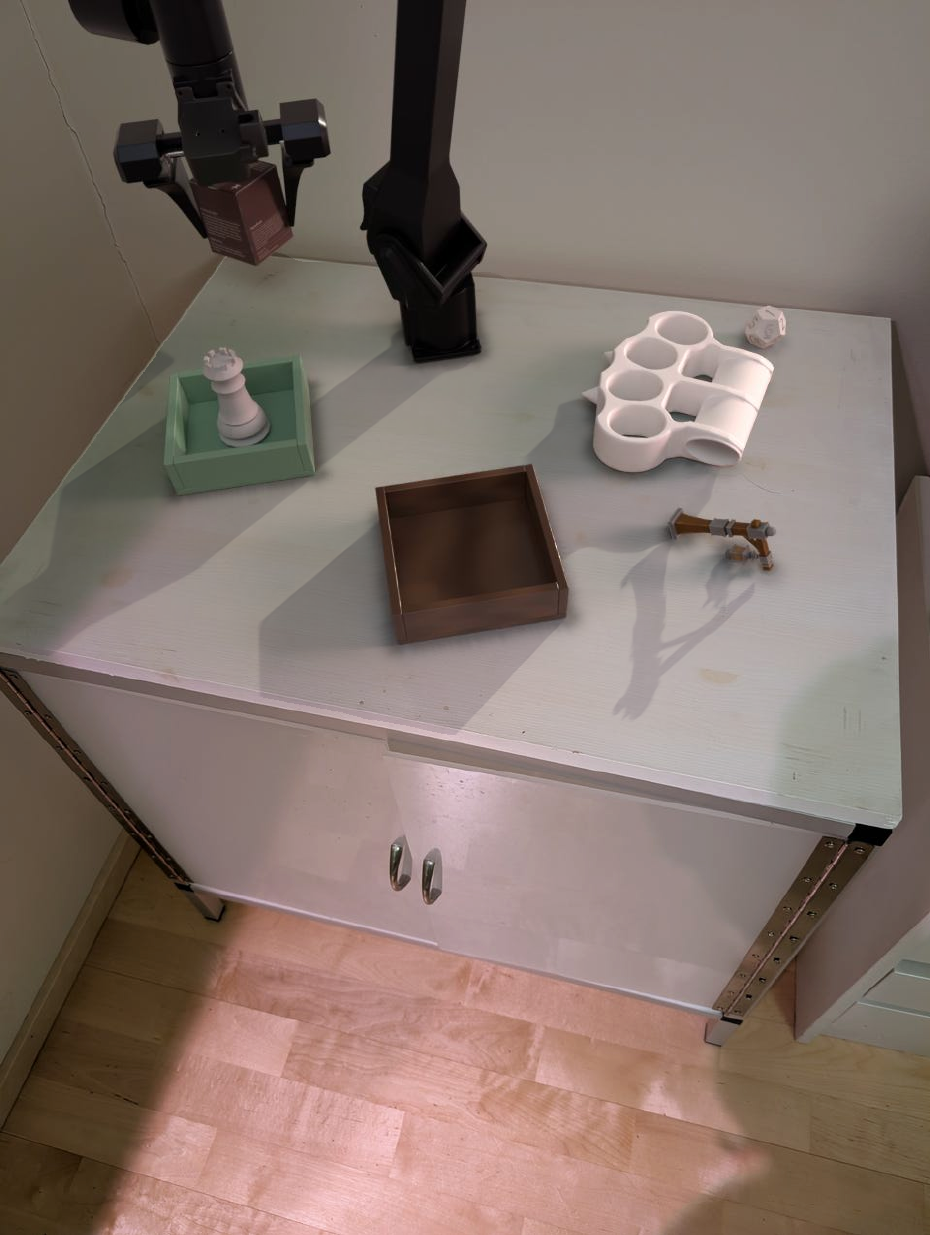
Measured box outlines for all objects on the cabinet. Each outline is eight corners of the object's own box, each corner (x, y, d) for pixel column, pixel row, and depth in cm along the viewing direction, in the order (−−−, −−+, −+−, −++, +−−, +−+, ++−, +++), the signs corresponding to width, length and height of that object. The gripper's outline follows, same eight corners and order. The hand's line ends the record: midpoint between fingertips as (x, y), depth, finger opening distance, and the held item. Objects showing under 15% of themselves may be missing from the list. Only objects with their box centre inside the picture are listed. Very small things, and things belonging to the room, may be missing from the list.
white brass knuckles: (725, 500, 66) (553, 453, 71) (776, 364, 76) (621, 329, 80) (734, 470, 64) (554, 423, 68) (786, 332, 73) (625, 298, 77)
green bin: (308, 386, 77) (300, 354, 74) (315, 475, 71) (306, 443, 68) (182, 405, 77) (169, 373, 74) (177, 495, 70) (162, 464, 67)
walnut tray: (532, 495, 68) (532, 463, 65) (566, 617, 61) (569, 588, 58) (381, 518, 67) (374, 487, 64) (398, 644, 60) (392, 616, 57)
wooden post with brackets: (778, 578, 61) (768, 530, 58) (679, 563, 66) (666, 519, 63) (788, 562, 61) (779, 514, 59) (690, 549, 67) (677, 504, 64)
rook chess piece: (261, 453, 72) (235, 378, 65) (212, 448, 72) (182, 373, 66) (278, 418, 74) (255, 342, 67) (231, 413, 75) (203, 337, 68)
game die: (760, 358, 76) (768, 330, 74) (733, 337, 78) (740, 309, 76) (790, 345, 77) (799, 316, 75) (763, 324, 79) (771, 296, 77)
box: (295, 238, 84) (278, 164, 78) (256, 269, 81) (235, 194, 75) (250, 223, 86) (229, 149, 80) (210, 253, 83) (186, 179, 77)
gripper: (74, 109, 64) (148, 291, 77) (315, 78, 65) (349, 263, 78) (89, 50, 71) (155, 227, 83) (309, 22, 71) (340, 201, 84)
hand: (248, 230), depth 82 cm, fingers closed on box, 8 cm apart
